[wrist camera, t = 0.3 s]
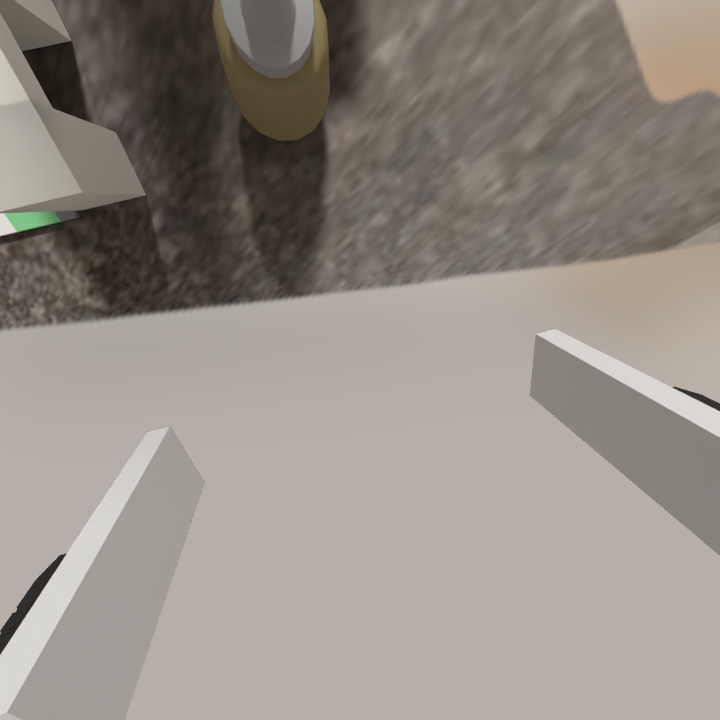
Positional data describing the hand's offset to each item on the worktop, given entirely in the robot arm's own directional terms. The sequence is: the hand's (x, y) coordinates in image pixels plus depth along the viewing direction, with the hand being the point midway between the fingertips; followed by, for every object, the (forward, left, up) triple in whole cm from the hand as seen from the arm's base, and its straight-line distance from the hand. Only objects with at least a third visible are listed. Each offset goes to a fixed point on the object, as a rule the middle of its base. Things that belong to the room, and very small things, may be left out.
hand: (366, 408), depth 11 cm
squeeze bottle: (-16, +1, -28) cm, 32 cm away
